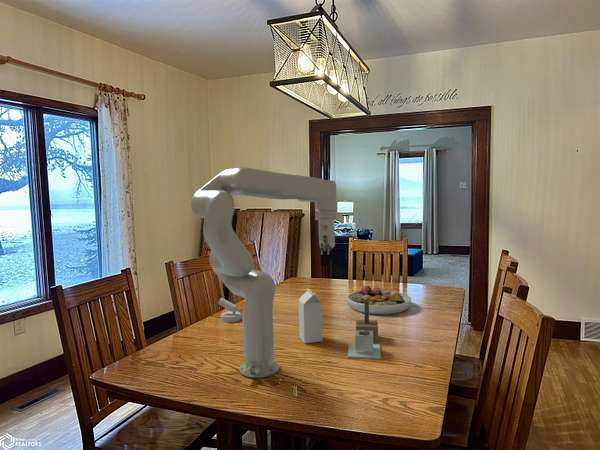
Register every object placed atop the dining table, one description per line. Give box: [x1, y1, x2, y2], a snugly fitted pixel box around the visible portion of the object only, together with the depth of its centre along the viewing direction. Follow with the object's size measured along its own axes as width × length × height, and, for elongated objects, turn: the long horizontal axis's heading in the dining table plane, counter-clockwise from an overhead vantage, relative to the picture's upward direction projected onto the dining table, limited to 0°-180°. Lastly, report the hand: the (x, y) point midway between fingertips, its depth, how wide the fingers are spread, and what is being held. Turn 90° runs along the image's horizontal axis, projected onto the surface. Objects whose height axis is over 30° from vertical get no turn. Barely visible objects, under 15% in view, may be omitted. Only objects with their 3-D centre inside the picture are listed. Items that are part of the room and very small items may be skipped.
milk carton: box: [298, 288, 324, 344], centre depth 159 cm, size 7×7×19 cm
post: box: [355, 299, 379, 344], centre depth 159 cm, size 8×8×15 cm
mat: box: [347, 342, 382, 360], centre depth 146 cm, size 12×11×1 cm
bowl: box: [346, 285, 412, 316], centre depth 201 cm, size 30×30×8 cm
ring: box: [354, 329, 374, 354], centre depth 146 cm, size 6×6×6 cm
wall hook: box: [217, 297, 242, 324], centre depth 186 cm, size 9×10×10 cm
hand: (326, 263), depth 150 cm, fingers open, 9 cm apart
